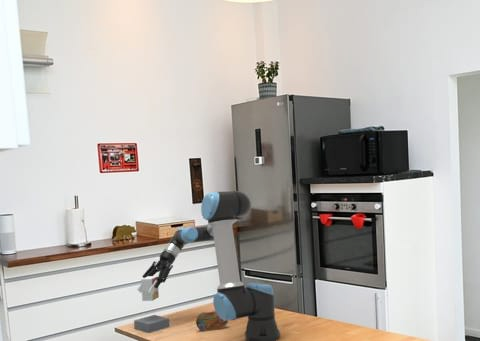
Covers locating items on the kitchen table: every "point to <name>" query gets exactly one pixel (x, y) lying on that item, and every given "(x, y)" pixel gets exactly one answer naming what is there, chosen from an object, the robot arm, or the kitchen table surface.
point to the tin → (210, 321)
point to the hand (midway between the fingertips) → (144, 292)
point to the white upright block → (146, 287)
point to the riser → (151, 323)
